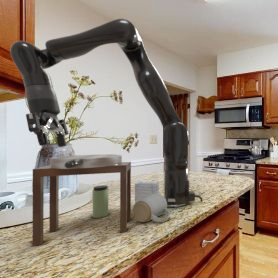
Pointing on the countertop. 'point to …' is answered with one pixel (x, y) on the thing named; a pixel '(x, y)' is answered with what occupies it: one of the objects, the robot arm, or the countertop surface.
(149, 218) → the ceramic mug
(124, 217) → the pan stand
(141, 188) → the medicine box
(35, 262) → the countertop surface
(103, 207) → the spice bottle
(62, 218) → the countertop surface
